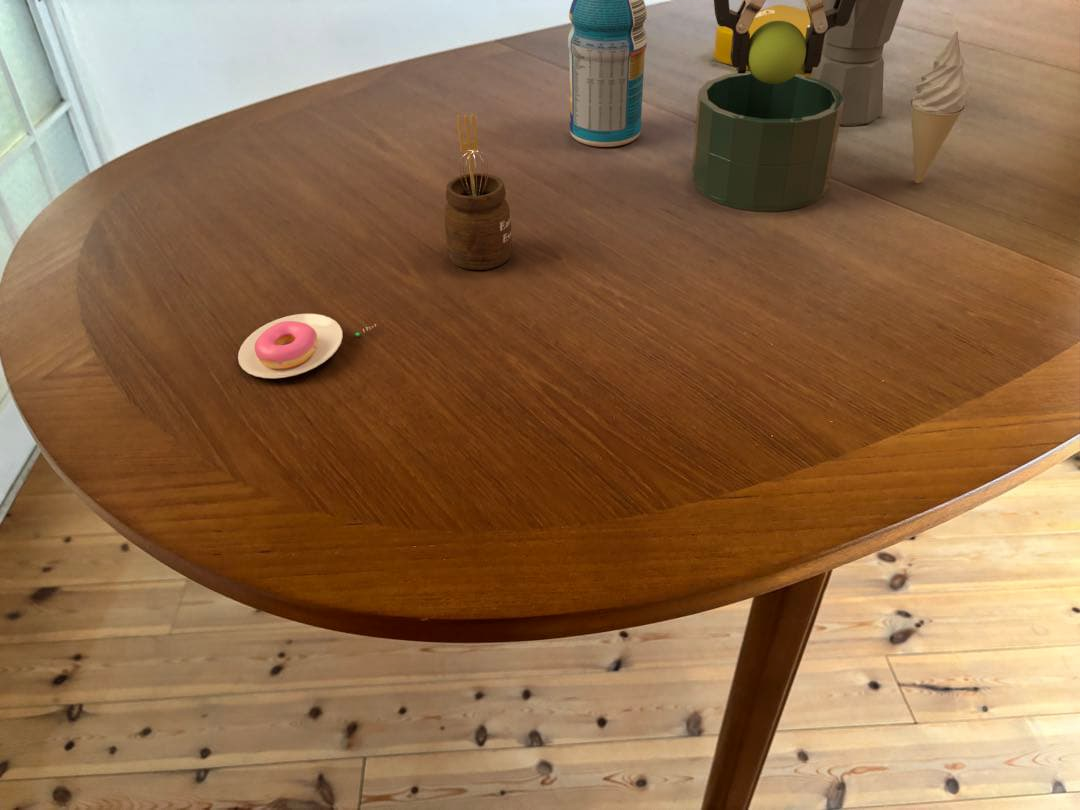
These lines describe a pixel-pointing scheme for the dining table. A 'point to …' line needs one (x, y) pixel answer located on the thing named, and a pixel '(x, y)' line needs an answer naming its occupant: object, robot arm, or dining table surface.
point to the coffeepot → (858, 58)
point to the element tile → (762, 17)
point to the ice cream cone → (937, 105)
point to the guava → (776, 52)
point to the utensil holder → (476, 213)
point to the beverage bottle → (606, 70)
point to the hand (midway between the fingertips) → (773, 70)
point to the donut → (290, 346)
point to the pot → (765, 141)
